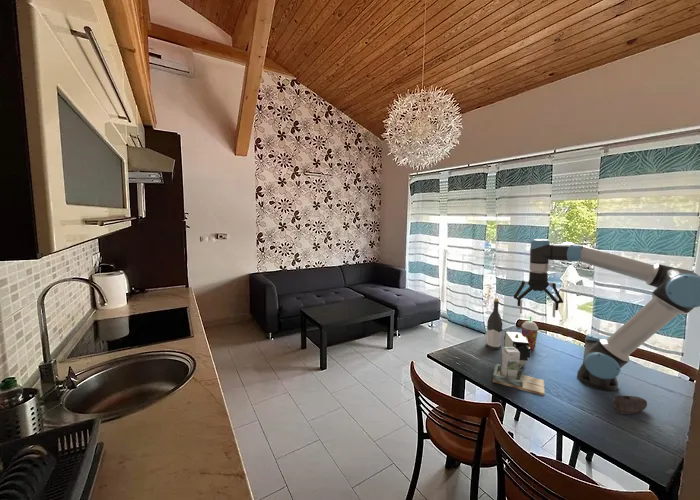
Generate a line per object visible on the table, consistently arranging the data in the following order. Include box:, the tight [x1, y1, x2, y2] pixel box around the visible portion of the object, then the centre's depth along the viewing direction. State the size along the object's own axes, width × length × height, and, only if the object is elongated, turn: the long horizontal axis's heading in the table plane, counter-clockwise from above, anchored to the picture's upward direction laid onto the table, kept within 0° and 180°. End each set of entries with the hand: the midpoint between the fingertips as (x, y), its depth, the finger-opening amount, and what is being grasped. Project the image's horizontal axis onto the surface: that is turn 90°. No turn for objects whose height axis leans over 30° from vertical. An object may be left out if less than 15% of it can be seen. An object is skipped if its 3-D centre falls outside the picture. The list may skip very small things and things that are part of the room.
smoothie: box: [521, 316, 539, 352], centre depth 177 cm, size 8×8×20 cm
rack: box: [492, 363, 546, 397], centre depth 143 cm, size 21×12×4 cm, turn 58°
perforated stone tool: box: [612, 394, 648, 415], centre depth 122 cm, size 15×5×7 cm, turn 96°
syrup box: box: [500, 346, 520, 380], centre depth 145 cm, size 6×6×14 cm
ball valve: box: [503, 330, 531, 370], centre depth 158 cm, size 18×8×18 cm, turn 168°
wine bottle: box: [485, 297, 503, 350], centre depth 179 cm, size 8×8×30 cm
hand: (536, 314), depth 144 cm, fingers open, 13 cm apart
